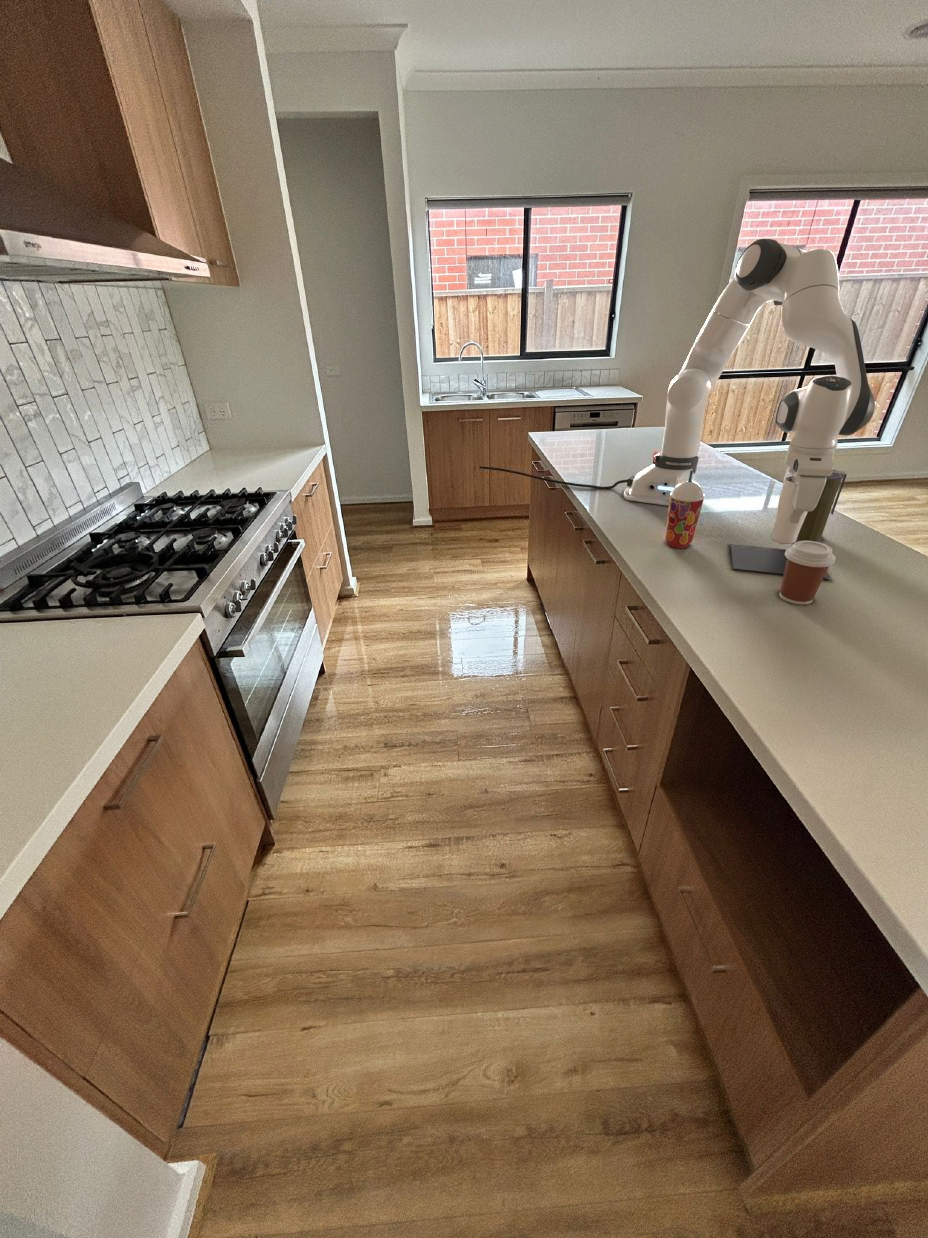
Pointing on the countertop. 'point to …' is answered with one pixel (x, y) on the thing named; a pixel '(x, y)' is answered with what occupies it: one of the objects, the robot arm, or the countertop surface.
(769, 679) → the countertop surface
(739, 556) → the place mat
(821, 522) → the canister
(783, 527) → the white tapered cylinder
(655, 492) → the robot arm
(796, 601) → the coffee cup
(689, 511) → the smoothie
